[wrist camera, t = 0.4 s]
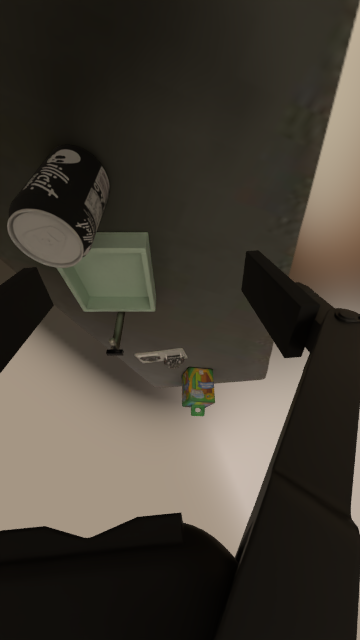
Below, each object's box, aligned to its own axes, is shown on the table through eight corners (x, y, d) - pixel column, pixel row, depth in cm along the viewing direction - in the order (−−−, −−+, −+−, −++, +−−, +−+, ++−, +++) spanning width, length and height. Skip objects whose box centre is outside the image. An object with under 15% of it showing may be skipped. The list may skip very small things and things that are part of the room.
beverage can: (37, 166, 24) (-16, 232, 18) (74, 125, 21) (28, 186, 15) (86, 214, 29) (59, 280, 22) (122, 186, 26) (104, 252, 19)
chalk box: (213, 368, 77) (217, 413, 69) (204, 376, 84) (207, 418, 76) (188, 366, 75) (189, 412, 67) (181, 375, 82) (181, 417, 74)
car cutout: (182, 347, 63) (182, 362, 60) (187, 356, 68) (187, 370, 66) (134, 353, 66) (132, 367, 63) (142, 361, 71) (141, 375, 69)
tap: (113, 291, 42) (101, 346, 35) (127, 291, 42) (118, 346, 35) (117, 303, 45) (107, 356, 39) (131, 303, 45) (123, 356, 39)
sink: (52, 231, 31) (44, 248, 29) (147, 232, 31) (145, 248, 29) (88, 297, 43) (83, 311, 41) (156, 296, 43) (155, 311, 41)
